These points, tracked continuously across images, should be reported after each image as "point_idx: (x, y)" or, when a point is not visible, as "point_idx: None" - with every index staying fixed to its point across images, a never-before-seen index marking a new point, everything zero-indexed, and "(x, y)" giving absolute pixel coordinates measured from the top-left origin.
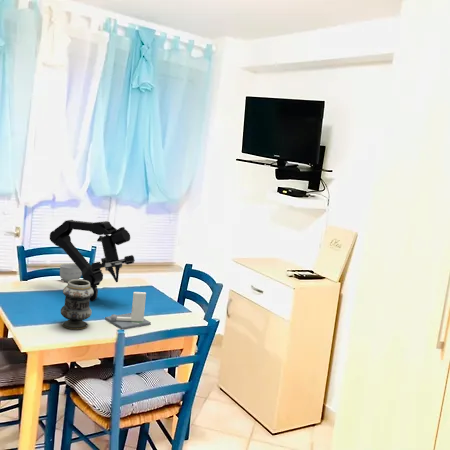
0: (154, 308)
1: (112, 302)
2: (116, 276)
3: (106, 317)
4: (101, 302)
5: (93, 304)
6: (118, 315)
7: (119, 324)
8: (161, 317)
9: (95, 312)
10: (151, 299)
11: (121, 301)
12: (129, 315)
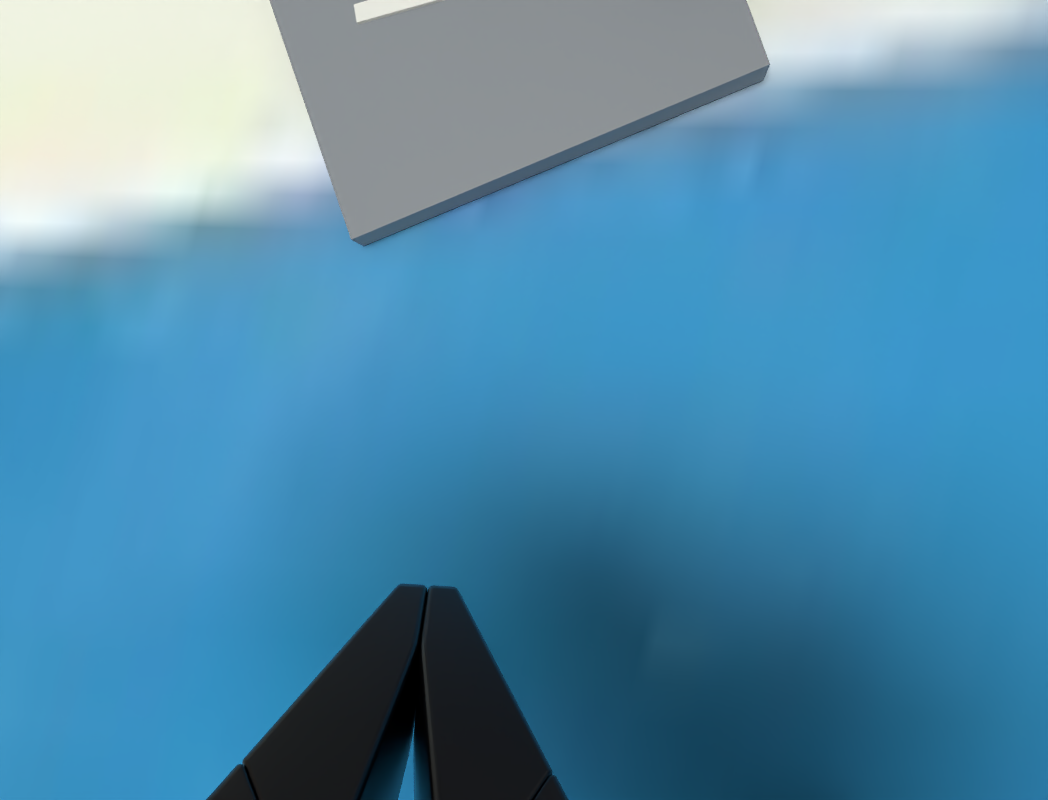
0: (65, 459)
1: None
2: (395, 685)
3: (755, 52)
4: (662, 760)
5: (795, 692)
6: (568, 130)
7: None
8: (68, 148)
9: (837, 361)
10: (17, 782)
11: None
12: (424, 130)
